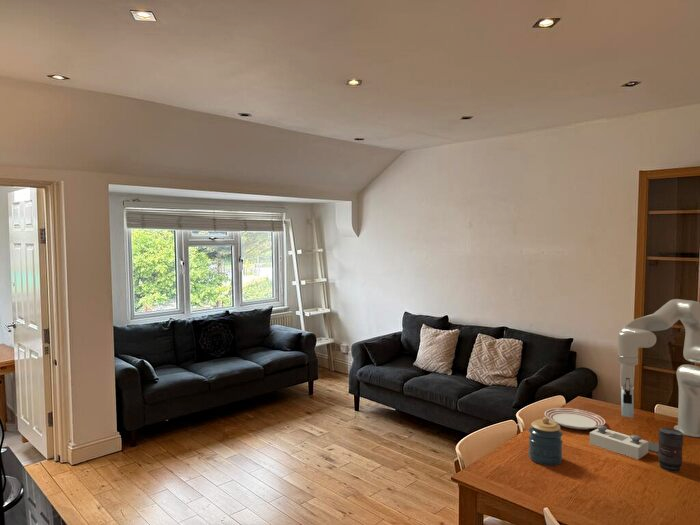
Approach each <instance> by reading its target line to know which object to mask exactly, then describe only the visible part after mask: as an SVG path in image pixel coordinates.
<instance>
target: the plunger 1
mask: <svg viewBox="0 0 700 525" xmlns="http://www.w3.org/2000/svg"><path fill="white" fill-rule="evenodd" d="M596 429H599V433H602V434H605V430H607V429H608V427H607V426H606V425H605V424H604V425H597V428H596Z"/></svg>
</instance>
